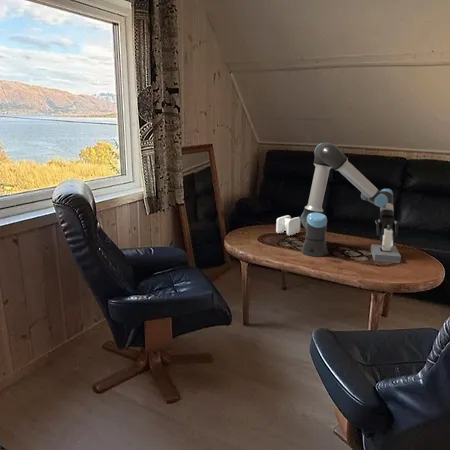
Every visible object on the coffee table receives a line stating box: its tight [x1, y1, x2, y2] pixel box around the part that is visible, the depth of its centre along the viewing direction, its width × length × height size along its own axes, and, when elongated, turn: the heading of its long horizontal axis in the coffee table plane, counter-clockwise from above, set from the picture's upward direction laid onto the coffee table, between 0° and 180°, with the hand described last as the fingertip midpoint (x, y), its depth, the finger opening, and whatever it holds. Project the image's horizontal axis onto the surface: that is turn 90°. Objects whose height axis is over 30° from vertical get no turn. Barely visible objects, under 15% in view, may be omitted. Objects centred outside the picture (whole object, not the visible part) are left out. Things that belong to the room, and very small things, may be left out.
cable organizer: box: [275, 214, 301, 237], centre depth 291 cm, size 15×11×12 cm
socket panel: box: [370, 243, 402, 264], centre depth 247 cm, size 14×20×4 cm
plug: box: [382, 225, 393, 251], centre depth 245 cm, size 4×5×15 cm
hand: (387, 246), depth 242 cm, fingers closed on plug, 4 cm apart
